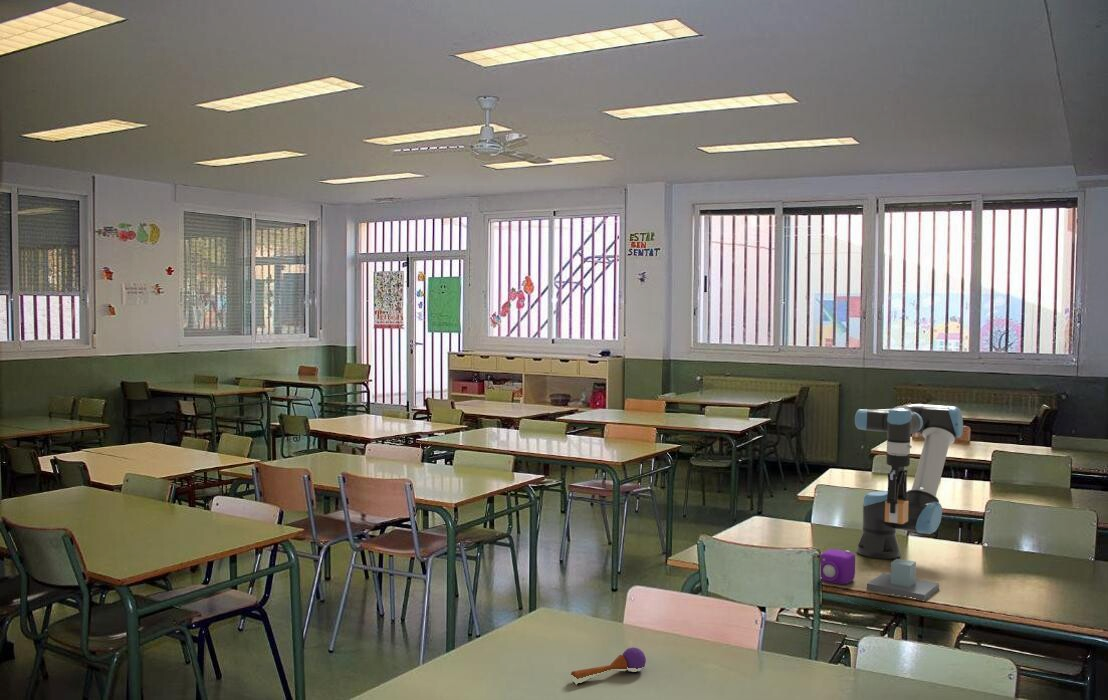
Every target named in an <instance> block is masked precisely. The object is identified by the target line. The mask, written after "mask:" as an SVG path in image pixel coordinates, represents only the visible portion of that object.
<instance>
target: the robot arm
mask: <svg viewBox="0 0 1108 700" xmlns="http://www.w3.org/2000/svg"><path fill="white" fill-rule="evenodd" d="M963 420H964V419H963V413H962V410H961V409H960V408H959V407H958V406H953V405H940V404H938V405H937V404H929V403H928V404H925V403H912V404H906V405H905V404H904V405H898V406H894V408H893V407H892V408H885V409H883V408H881V409H880V408H879V409H867V408H864V409H861V408H859V409H857V411H856V413H855V416H854V425H855V427H856V428H857V430H863V431H871V432H883V433H884V432H885V433H886V437H887V438H886V452H887V454H886V465H887V466H891V469H890V472H889V473H887V491H886V490H882V491H881V490H879V491H871V492H867V493H866V494H864V496H863V503H862V533H861V535H860V538H859V539H858V540H859V541H858V542H857V545H856V552H857V553H858V554H859V555H861V556H865V557H868V558H872V557H873V558H874V559H880V558H883V560H892V558H893V559H898V558H900V556H901V549H900V546H899V542H898V539H897V534H896V533H897V532H896V531H897V530H901V531H907V532H914V533H919V534H928V535H931V534H933V533H935V532H936V531H937V530H938V528H939V526H940V525H941V521H942V515H943V506H942V504H941V503H940V500H939V498H938V497H937V492H938V490H939V485H940V482H941V477H942V473H943V472H944V471H943V470H944V467H945V463H946V458H947V455H948V450H949V446H950V445H952V444H953V445H954V443H955V442H956V438H962V436H963V433H964V432H963V431H964V421H963ZM913 434H921V435H922V437H923V438H924V443H923V446H922V450H921V453H920V457H919V461H918V465H917V469H916V472H915V476H914V479H913V483H912V486H911V489H909V490H907V487H908V484H907V483H908V482H907V481H908V479H907V478H908V469H906V468H905V467H909V466H910V464H911V463H910V461H911V455H910V453H911V449H912V445H911V435H913ZM897 500H904V501H909V504H908V521H907V522H906V523H904V524H897V523H898V504H897ZM885 501H887V503H889V522H885ZM891 522H893V523H891ZM897 557H898V558H897ZM873 558H872V559H873Z"/></svg>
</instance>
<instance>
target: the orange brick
mask: <svg viewBox="0 0 1108 700" xmlns="http://www.w3.org/2000/svg"><path fill="white" fill-rule="evenodd" d="M897 504H898V523H897V524H904V523H906V522H907V521H908V504H909V501H904V500H897ZM885 522H889V503H887V501H885ZM891 523H893V522H891Z"/></svg>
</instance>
